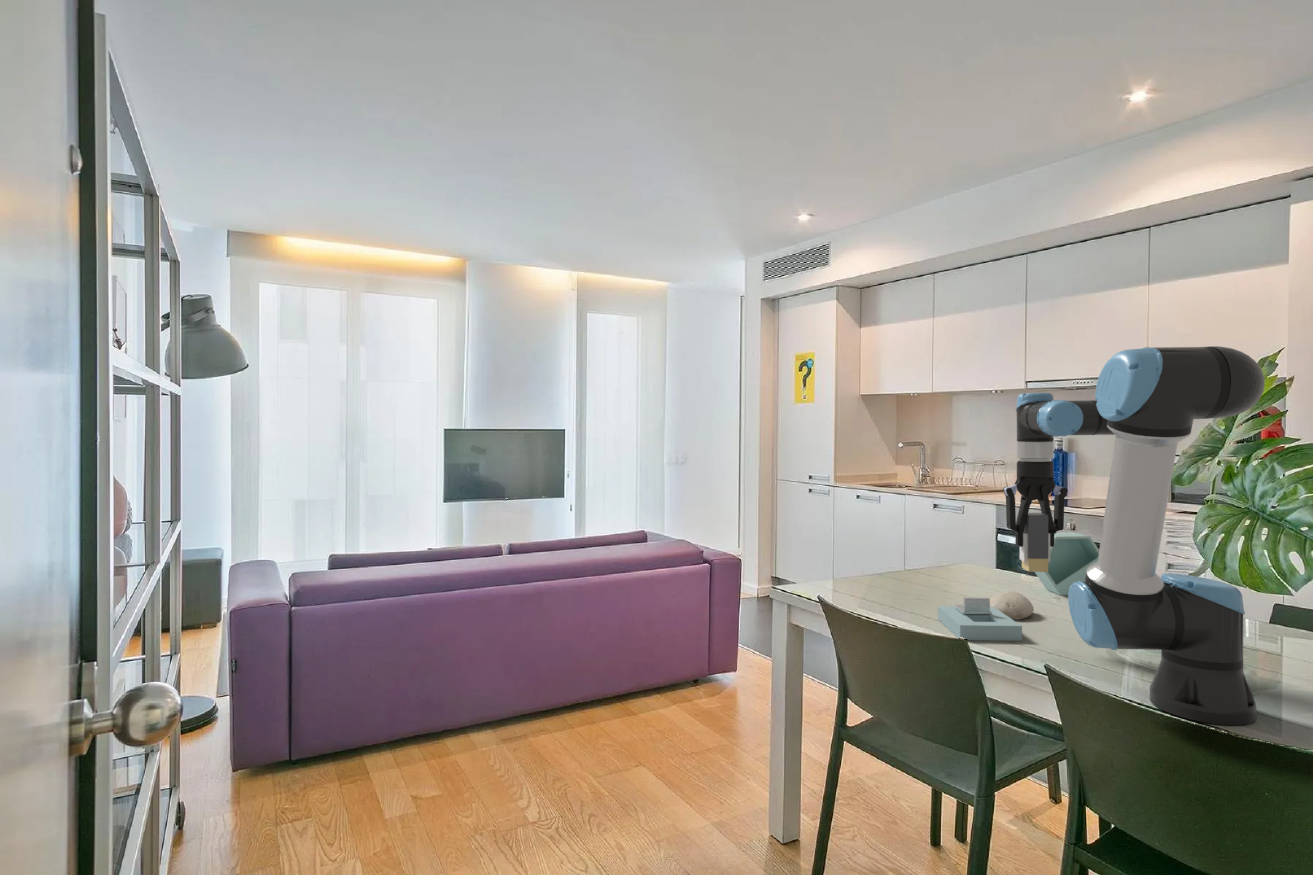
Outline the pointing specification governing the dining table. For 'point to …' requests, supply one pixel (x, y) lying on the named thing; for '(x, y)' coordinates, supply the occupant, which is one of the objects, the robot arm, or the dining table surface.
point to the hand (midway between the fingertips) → (1034, 560)
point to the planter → (1068, 561)
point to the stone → (1012, 605)
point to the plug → (1037, 543)
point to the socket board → (980, 625)
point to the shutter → (974, 606)
